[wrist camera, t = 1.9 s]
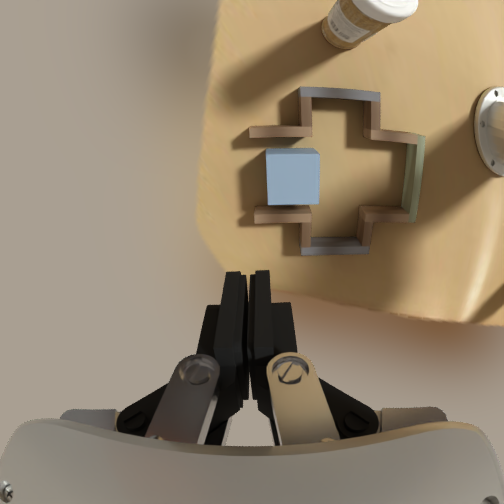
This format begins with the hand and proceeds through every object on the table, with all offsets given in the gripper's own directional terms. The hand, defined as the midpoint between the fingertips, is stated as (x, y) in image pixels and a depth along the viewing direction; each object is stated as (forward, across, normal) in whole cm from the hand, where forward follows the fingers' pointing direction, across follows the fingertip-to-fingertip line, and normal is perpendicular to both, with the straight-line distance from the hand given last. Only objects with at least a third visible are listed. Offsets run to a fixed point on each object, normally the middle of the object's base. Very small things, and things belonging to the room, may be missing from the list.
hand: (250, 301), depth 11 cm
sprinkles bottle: (+21, -10, -16) cm, 28 cm away
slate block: (+21, -4, 0) cm, 22 cm away
